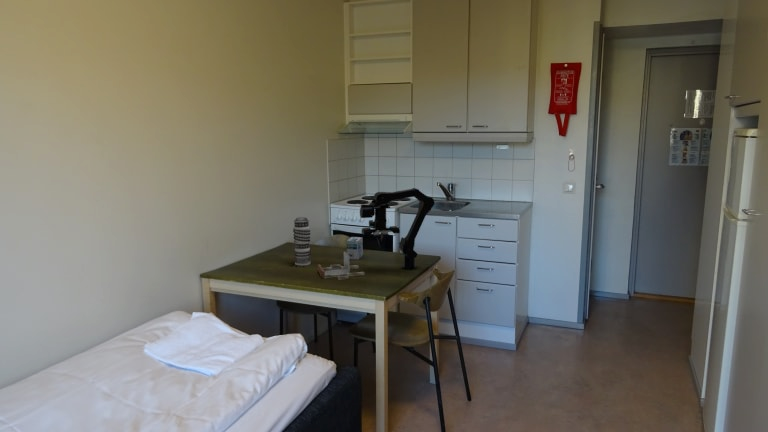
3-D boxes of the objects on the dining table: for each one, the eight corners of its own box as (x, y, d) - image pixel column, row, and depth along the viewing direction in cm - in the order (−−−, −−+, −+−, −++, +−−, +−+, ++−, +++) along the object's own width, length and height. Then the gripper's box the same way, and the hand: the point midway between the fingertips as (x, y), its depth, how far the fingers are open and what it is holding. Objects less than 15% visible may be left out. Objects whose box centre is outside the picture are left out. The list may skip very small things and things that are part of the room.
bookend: (345, 270, 268) (345, 251, 267) (349, 275, 259) (349, 255, 258) (322, 272, 265) (322, 253, 263) (325, 277, 256) (325, 257, 254)
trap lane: (356, 265, 276) (356, 259, 276) (366, 277, 255) (366, 270, 254) (316, 268, 270) (316, 262, 270) (324, 281, 249) (324, 274, 248)
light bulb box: (358, 260, 288) (358, 241, 287) (346, 259, 290) (346, 240, 288) (363, 255, 299) (362, 236, 297) (351, 254, 300) (351, 236, 298)
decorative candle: (290, 264, 280) (289, 218, 275) (301, 260, 288) (299, 215, 283) (304, 266, 275) (303, 219, 271) (314, 262, 283) (313, 217, 279)
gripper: (393, 213, 274) (393, 242, 277) (358, 215, 269) (359, 244, 271) (399, 217, 263) (399, 247, 266) (364, 219, 258) (364, 249, 261)
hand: (380, 247), depth 266 cm, fingers closed
